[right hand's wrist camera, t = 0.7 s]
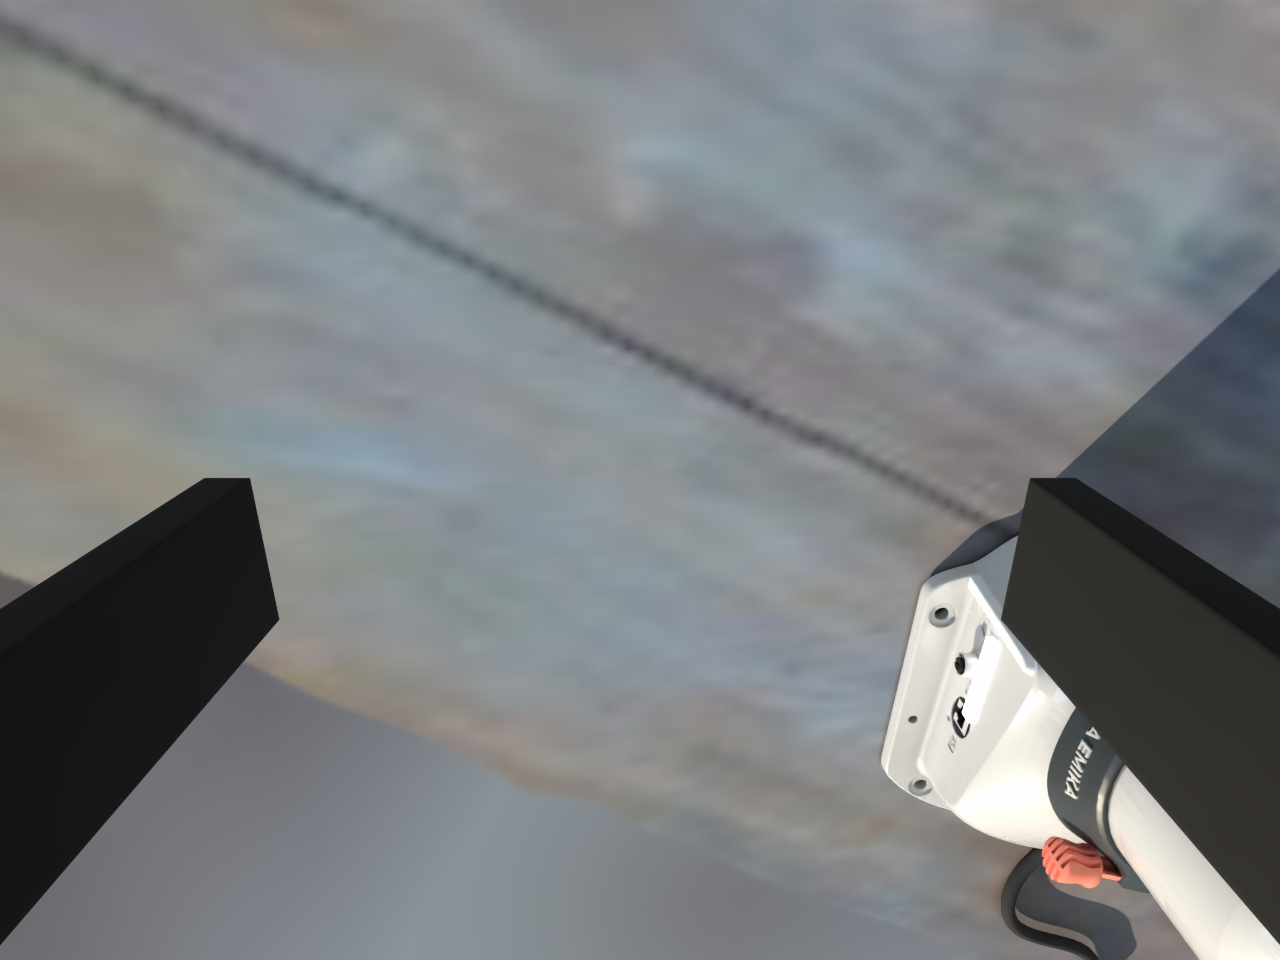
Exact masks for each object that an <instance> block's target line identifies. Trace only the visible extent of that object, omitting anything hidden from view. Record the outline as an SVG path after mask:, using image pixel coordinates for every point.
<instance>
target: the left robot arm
mask: <svg viewBox="0 0 1280 960" xmlns="http://www.w3.org/2000/svg"><path fill="white" fill-rule="evenodd" d="M1017 539H1018V536H1016V537H1014V538H1012V539H1010V540H1009V541H1007V542H1005V543H1004V544H1002V545H1001V546H1000V547H998V548H997V549H995V550H994V551H992V552H991V553H989V554H988V555H986V556H985V557H983V558H981V559H980V560H978V561H976V562H974V563H971V564H967V565H963V566H959V567H956V568H952V569H949V570H946V571H943V572H940V573H938V574H936V575H934V576H932V577H930V578H929V579H928V580H927V581H926V582H925V583H924V584H923V586H922V588H921V591H920V595H919V600H918V604H917V608H916V612H915V616H914V621H913V625H912V629H911V633H910V638H909V642H908V646H907V650H906V654H905V659H904V663H903V667H902V671H901V676H900V680H899V684H898V688H897V692H896V697H895V701H894V705H893V709H892V714H891V718H890V722H889V726H888V730H887V735H886V739H885V743H884V748H883V752H882V757H881V765H882V767H883V768H884V770H885V772H886V773H887V775H888V776H889V777H890V778H891V779H892V780H893V781H894V782H895V783H896V784H897V785H898V786H899V787H901V788H902V789H903V790H905V791H906V792H908V793H909V794H911V795H913V796H915V797H917V798H919V799H921V800H923V801H926V802H928V803H931V804H933V805H936V806H939V807H942V808H945V809H949V810H951V811H952V812H953V813H954V814H955V815H956V816H958V817H959V818H960V819H961V820H963V821H964V822H965V823H967V824H969V825H970V826H972V827H974V828H975V829H977V830H979V831H981V832H983V833H986V834H988V835H991V836H993V837H996V838H999V839H1002V840H1005V841H1008V842H1011V843H1015V844H1020V845H1024V846H1028V847H1034V849H1033V850H1032V851H1030V852H1029V853H1028V854H1027V855H1026V856H1025V857H1024V858H1023V859H1022V860H1021V861H1020V862H1019V863H1018V864H1017V866H1016V867H1015V868H1014V870H1013V871H1012V872H1011V874H1010V876H1009V877H1008V879H1007V881H1006V884H1005V886H1004V889H1003V893H1002V898H1001V911H1002V917H1003V919H1004V921H1005V923H1006V925H1007V926H1008V928H1009V929H1010V930H1011V931H1012V932H1013V933H1014V934H1016V935H1017V936H1019V937H1021V938H1022V939H1025V940H1027V941H1030V942H1033V943H1036V944H1040V945H1044V946H1048V947H1052V948H1056V949H1060V950H1064V951H1067V952H1070V953H1073V954H1075V955H1078V956H1079V957H1081V958H1083V959H1084V960H1099V959H1098V957H1097V956H1096V955H1095V953H1094V952H1093V951H1092V950H1091V949H1090V948H1089V947H1087V946H1086V945H1084V944H1083V943H1080V942H1078V941H1075V940H1073V939H1070V938H1066V937H1063V936H1058V935H1054V934H1050V933H1046V932H1042V931H1039V930H1035V929H1033V928H1030V927H1028V926H1026V925H1024V924H1022V923H1021V922H1020V921H1019V920H1018V919H1017V916H1016V914H1015V903H1016V899H1017V896H1018V893H1019V891H1020V889H1021V887H1022V885H1023V884H1024V882H1025V881H1026V879H1027V878H1028V877H1029V875H1030V874H1031V873H1032V872H1033V871H1034V870H1035V869H1036V868H1037V867H1038V866H1039V865H1040V864H1042V863H1043V866H1044V867H1046V873H1047V874H1048V875H1051V879H1052V880H1055V881H1057V882H1061V883H1078V884H1080V885H1082V886H1084V887H1086V888H1093V887H1095V886H1097V885H1098V884H1099V883H1100V881H1101V879H1102V877H1103V878H1108V879H1113V880H1117V882H1118V883H1119V884H1120V886H1121V887H1123V888H1126V889H1130V890H1134V891H1139V892H1145V893H1151V894H1152V895H1153V897H1154V898H1155V900H1156V901H1157V902H1158V904H1159V905H1160V906H1161V908H1162V909H1163V911H1164V912H1165V913H1166V915H1167V916H1168V917H1169V919H1170V920H1171V921H1172V923H1173V924H1174V926H1175V927H1176V928H1177V930H1178V931H1179V932H1180V934H1181V935H1182V936H1183V938H1184V939H1185V940H1186V942H1187V943H1188V945H1189V946H1190V947H1191V949H1192V950H1193V951H1194V953H1195V954H1196V955H1197V957H1198V958H1199V960H1280V945H1279V944H1278V942H1277V941H1276V940H1275V939H1274V938H1273V937H1272V935H1271V934H1270V933H1269V932H1268V931H1267V930H1266V928H1265V927H1264V926H1263V925H1262V924H1261V923H1260V921H1259V920H1258V919H1257V918H1256V917H1255V916H1254V914H1253V913H1252V912H1251V911H1250V910H1249V909H1248V907H1247V906H1246V905H1245V904H1244V903H1243V902H1242V900H1241V899H1240V898H1239V897H1238V896H1237V895H1236V893H1235V892H1234V891H1233V890H1232V889H1231V888H1230V886H1229V885H1228V884H1227V883H1226V882H1225V881H1224V879H1223V878H1222V877H1221V876H1220V875H1219V874H1218V872H1217V871H1216V870H1215V869H1214V868H1213V867H1212V865H1211V864H1210V863H1209V862H1208V861H1207V860H1206V858H1205V857H1204V856H1203V855H1202V854H1201V853H1200V851H1199V850H1198V849H1197V848H1196V847H1195V846H1194V844H1193V843H1192V842H1191V841H1190V840H1189V839H1188V837H1187V836H1186V835H1185V834H1184V833H1183V832H1182V830H1181V829H1180V828H1179V827H1178V826H1177V825H1176V823H1175V822H1174V821H1173V820H1172V819H1171V818H1170V816H1169V815H1168V814H1167V813H1166V812H1165V811H1164V809H1163V808H1162V807H1161V806H1160V805H1159V804H1158V802H1157V801H1156V800H1155V799H1154V798H1153V797H1152V796H1151V794H1150V793H1149V792H1148V791H1147V790H1146V789H1145V787H1144V786H1143V785H1142V784H1141V783H1140V782H1139V780H1138V779H1137V778H1136V777H1135V776H1134V775H1133V773H1132V772H1131V771H1130V770H1129V769H1128V768H1127V766H1126V765H1125V764H1124V763H1123V762H1122V761H1121V759H1120V758H1119V757H1118V756H1117V755H1116V754H1115V752H1114V751H1113V750H1112V749H1111V748H1110V747H1109V745H1108V744H1107V743H1106V742H1105V741H1104V740H1103V738H1102V737H1101V736H1100V735H1099V734H1098V733H1097V731H1096V730H1095V729H1094V728H1093V727H1092V726H1091V724H1090V723H1089V722H1088V721H1087V720H1086V719H1085V717H1084V716H1083V715H1082V714H1081V713H1080V712H1079V710H1078V709H1077V708H1076V707H1075V706H1074V705H1073V703H1072V702H1071V701H1070V700H1069V699H1068V698H1067V696H1066V695H1065V694H1064V693H1063V692H1062V691H1061V689H1060V688H1059V687H1058V686H1057V685H1056V684H1055V682H1054V681H1053V680H1052V679H1051V678H1050V677H1049V675H1048V674H1047V673H1046V672H1045V671H1044V670H1043V668H1042V667H1041V666H1040V665H1039V664H1038V663H1037V661H1036V660H1035V659H1034V658H1033V657H1032V656H1031V654H1030V653H1029V652H1028V651H1027V650H1026V649H1025V647H1024V646H1023V645H1022V644H1021V643H1020V642H1019V640H1018V639H1017V638H1016V637H1015V636H1014V635H1013V633H1012V632H1011V631H1010V630H1009V629H1008V628H1007V626H1006V625H1005V624H1004V623H1003V622H1002V621H1001V616H1002V611H1003V606H1004V601H1005V596H1006V592H1007V587H1008V582H1009V577H1010V572H1011V568H1012V563H1013V558H1014V553H1015V548H1016V544H1017ZM939 608H944V609H943V611H942V612H940V613H937V614H935V612H936V610H937V609H939ZM918 780H920V781H918Z"/></svg>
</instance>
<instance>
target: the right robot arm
mask: <svg viewBox="0 0 1280 960" xmlns="http://www.w3.org/2000/svg"><path fill="white" fill-rule="evenodd" d="M278 621H279V616H278V611H277V606H276V601H275V597H274V592H273V587H272V582H271V577H270V572H269V568H268V563H267V558H266V553H265V548H264V544H263V539H262V534H261V529H260V524H259V519H258V515H257V510H256V505H255V500H254V495H253V491H252V486H251V481H250V478H204V479H202V480H201V481H199V482H198V483H196V484H195V485H193V486H191V487H190V488H188V489H187V490H185V491H184V492H182V493H180V494H179V495H177V496H176V497H174V498H173V499H171V500H170V501H168V502H166V503H165V504H163V505H162V506H160V507H159V508H157V509H156V510H154V511H152V512H151V513H149V514H148V515H146V516H145V517H143V518H141V519H140V520H138V521H137V522H135V523H134V524H132V525H131V526H129V527H127V528H126V529H124V530H123V531H121V532H120V533H118V534H117V535H115V536H113V537H112V538H110V539H109V540H107V541H106V542H104V543H102V544H101V545H99V546H98V547H96V548H95V549H93V550H92V551H90V552H88V553H87V554H85V555H84V556H82V557H81V558H79V559H77V560H76V561H74V562H73V563H71V564H70V565H68V566H67V567H65V568H63V569H62V570H60V571H59V572H57V573H56V574H54V575H53V576H51V577H49V578H48V579H46V580H45V581H43V582H42V583H40V584H38V585H37V586H35V587H34V588H32V589H31V590H29V591H28V592H26V593H24V594H23V595H21V596H20V597H18V598H17V599H15V600H14V601H12V602H10V603H9V604H7V605H6V606H4V607H3V608H1V609H0V945H1V944H2V942H3V941H4V940H5V939H6V938H7V937H8V935H9V934H10V933H11V932H12V931H13V930H14V928H15V927H16V926H17V925H18V924H19V923H20V921H21V920H22V919H23V918H24V917H25V916H26V914H27V913H28V912H29V911H30V910H31V909H32V907H33V906H34V905H35V904H36V903H37V902H38V900H39V899H40V898H41V897H42V896H43V895H44V893H45V892H46V891H47V890H48V889H49V888H50V886H51V885H52V884H53V883H54V882H55V881H56V879H57V878H58V877H59V876H60V875H61V874H62V872H63V871H64V870H65V869H66V868H67V867H68V865H69V864H70V863H71V862H72V861H73V860H74V858H75V857H76V856H77V855H78V854H79V853H80V851H81V850H82V849H83V848H84V847H85V846H86V844H87V843H88V842H89V841H90V840H91V839H92V837H93V836H94V835H95V834H96V833H97V832H98V830H99V829H100V828H101V827H102V826H103V825H104V823H105V822H106V821H107V820H108V819H109V818H110V816H111V815H112V814H113V813H114V812H115V811H116V809H117V808H118V807H119V806H120V805H121V804H122V802H123V801H124V800H125V799H126V798H127V797H128V795H129V794H130V793H131V792H132V791H133V790H134V788H135V787H136V786H137V785H138V784H139V783H140V782H141V780H142V779H143V778H144V777H145V776H146V774H147V773H148V772H149V771H150V770H151V769H152V768H153V766H154V765H155V764H156V763H157V762H158V760H159V759H160V758H161V757H162V756H163V755H164V754H165V752H166V751H167V750H168V749H169V748H170V747H171V745H172V744H173V743H174V742H175V741H176V739H177V738H178V737H179V736H180V735H181V734H182V733H183V731H184V730H185V729H186V728H187V727H188V726H189V724H190V723H191V722H192V721H193V720H194V719H195V717H196V716H197V715H198V714H199V713H200V711H201V710H202V709H203V708H204V707H205V706H206V705H207V703H208V702H209V701H210V700H211V699H212V698H213V696H214V695H215V694H216V693H217V692H218V691H219V689H220V688H221V687H222V686H223V685H224V684H225V682H226V681H227V680H228V679H229V678H230V677H231V675H232V674H233V673H234V672H235V671H236V669H237V668H238V667H239V666H240V665H241V664H242V663H243V661H244V660H245V659H246V658H247V657H248V656H249V654H250V653H251V652H252V651H253V650H254V649H255V647H256V646H257V645H258V644H259V643H260V642H261V640H262V639H263V638H264V637H265V636H266V635H267V633H268V632H269V631H270V630H271V629H272V628H273V626H274V625H275V624H276V623H277V622H278ZM1001 621H1002V622H1003V623H1004V624H1005V625H1006V626H1007V628H1008V629H1009V630H1010V631H1011V632H1012V633H1013V635H1014V636H1015V637H1016V638H1017V639H1018V640H1019V642H1020V643H1021V644H1022V645H1023V646H1024V647H1025V649H1026V650H1027V651H1028V652H1029V653H1030V654H1031V656H1032V657H1033V658H1034V659H1035V660H1036V661H1037V663H1038V664H1039V665H1040V666H1041V667H1042V668H1043V670H1044V671H1045V672H1046V673H1047V674H1048V675H1049V677H1050V678H1051V679H1052V680H1053V681H1054V682H1055V684H1056V685H1057V686H1058V687H1059V688H1060V689H1061V691H1062V692H1063V693H1064V694H1065V695H1066V696H1067V698H1068V699H1069V700H1070V701H1071V702H1072V703H1073V705H1074V706H1075V707H1076V708H1077V709H1078V710H1079V712H1080V713H1081V714H1082V715H1083V716H1084V717H1085V719H1086V720H1087V721H1088V722H1089V723H1090V724H1091V726H1092V727H1093V728H1094V729H1095V730H1096V731H1097V733H1098V734H1099V735H1100V736H1101V737H1102V738H1103V740H1104V741H1105V742H1106V743H1107V744H1108V745H1109V747H1110V748H1111V749H1112V750H1113V751H1114V752H1115V754H1116V755H1117V756H1118V757H1119V758H1120V759H1121V761H1122V762H1123V763H1124V764H1125V765H1126V766H1127V768H1128V769H1129V770H1130V771H1131V772H1132V773H1133V775H1134V776H1135V777H1136V778H1137V779H1138V780H1139V782H1140V783H1141V784H1142V785H1143V786H1144V787H1145V789H1146V790H1147V791H1148V792H1149V793H1150V794H1151V796H1152V797H1153V798H1154V799H1155V800H1156V801H1157V802H1158V804H1159V805H1160V806H1161V807H1162V808H1163V809H1164V811H1165V812H1166V813H1167V814H1168V815H1169V816H1170V818H1171V819H1172V820H1173V821H1174V822H1175V823H1176V825H1177V826H1178V827H1179V828H1180V829H1181V830H1182V832H1183V833H1184V834H1185V835H1186V836H1187V837H1188V839H1189V840H1190V841H1191V842H1192V843H1193V844H1194V846H1195V847H1196V848H1197V849H1198V850H1199V851H1200V853H1201V854H1202V855H1203V856H1204V857H1205V858H1206V860H1207V861H1208V862H1209V863H1210V864H1211V865H1212V867H1213V868H1214V869H1215V870H1216V871H1217V872H1218V874H1219V875H1220V876H1221V877H1222V878H1223V879H1224V881H1225V882H1226V883H1227V884H1228V885H1229V886H1230V888H1231V889H1232V890H1233V891H1234V892H1235V893H1236V895H1237V896H1238V897H1239V898H1240V899H1241V900H1242V902H1243V903H1244V904H1245V905H1246V906H1247V907H1248V909H1249V910H1250V911H1251V912H1252V913H1253V914H1254V916H1255V917H1256V918H1257V919H1258V920H1259V921H1260V923H1261V924H1262V925H1263V926H1264V927H1265V928H1266V930H1267V931H1268V932H1269V933H1270V934H1271V935H1272V937H1273V938H1274V939H1275V940H1276V941H1277V942H1278V944H1279V945H1280V609H1279V608H1277V607H1276V606H1274V605H1273V604H1271V603H1270V602H1268V601H1266V600H1265V599H1263V598H1262V597H1260V596H1259V595H1257V594H1256V593H1254V592H1252V591H1251V590H1249V589H1248V588H1246V587H1245V586H1243V585H1242V584H1240V583H1238V582H1237V581H1235V580H1234V579H1232V578H1231V577H1229V576H1227V575H1226V574H1224V573H1223V572H1221V571H1220V570H1218V569H1217V568H1215V567H1213V566H1212V565H1210V564H1209V563H1207V562H1206V561H1204V560H1203V559H1201V558H1199V557H1198V556H1196V555H1195V554H1193V553H1192V552H1190V551H1188V550H1187V549H1185V548H1184V547H1182V546H1181V545H1179V544H1178V543H1176V542H1174V541H1173V540H1171V539H1170V538H1168V537H1167V536H1165V535H1163V534H1162V533H1160V532H1159V531H1157V530H1156V529H1154V528H1153V527H1151V526H1149V525H1148V524H1146V523H1145V522H1143V521H1142V520H1140V519H1139V518H1137V517H1135V516H1134V515H1132V514H1131V513H1129V512H1128V511H1126V510H1124V509H1123V508H1121V507H1120V506H1118V505H1117V504H1115V503H1114V502H1112V501H1110V500H1109V499H1107V498H1106V497H1104V496H1103V495H1101V494H1100V493H1098V492H1096V491H1095V490H1093V489H1092V488H1090V487H1089V486H1087V485H1085V484H1084V483H1082V482H1081V481H1079V480H1078V479H1076V478H1030V481H1029V486H1028V491H1027V495H1026V500H1025V505H1024V510H1023V515H1022V519H1021V524H1020V529H1019V534H1018V539H1017V544H1016V548H1015V553H1014V558H1013V563H1012V568H1011V572H1010V577H1009V582H1008V587H1007V592H1006V596H1005V601H1004V606H1003V611H1002V616H1001Z"/></svg>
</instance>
